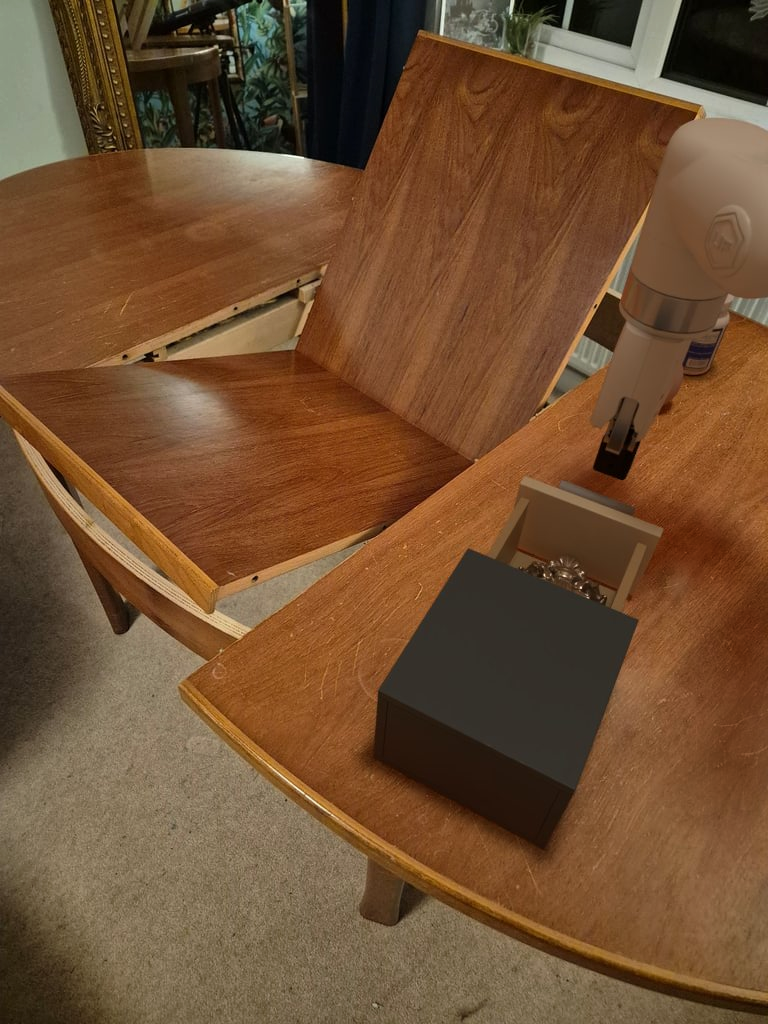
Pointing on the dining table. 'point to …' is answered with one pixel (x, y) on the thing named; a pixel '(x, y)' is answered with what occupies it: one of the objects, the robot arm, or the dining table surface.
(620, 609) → the drawer
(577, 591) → the ornament
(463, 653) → the cabinet
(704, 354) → the pill bottle
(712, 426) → the dining table surface
